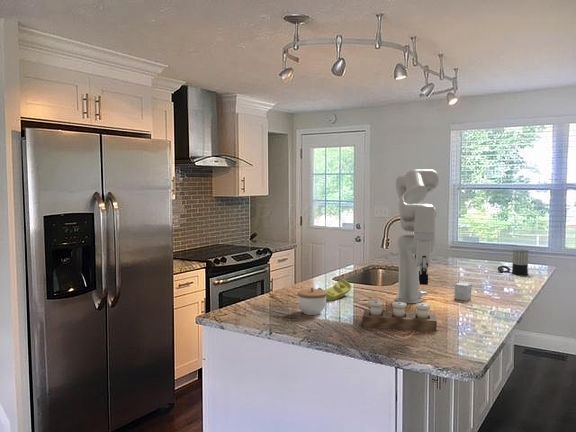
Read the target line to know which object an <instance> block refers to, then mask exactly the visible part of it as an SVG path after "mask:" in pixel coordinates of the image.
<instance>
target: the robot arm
mask: <svg viewBox="0 0 576 432" xmlns="http://www.w3.org/2000/svg"><path fill="white" fill-rule="evenodd" d="M439 183H440V179H439V174H438V172H437V171H436V170H434V169H429V168H428V169H426V168H425V169H420V168H419V169H410V170H409V171H407V172H406V173H405V174H403V175H399V176H397V177H396V179H395V191H396V194H397V196H398V200H399V201H398V213H399V217H400V228H401V230H402V231H403V232H409V233H411V232H412V233H413V234H402V235H401V236H399V237H398V238H397V241H396V245H397V253H398V294H397V296H395V297H394V301H395V302H404V303H406V304H417V303H423V298H422V297H423V296H425V297H426V296H428V292H427V291H421V290H420V285H421V286H428V285H429V271H428V268H429V267H430V266H431V265H430V263H431V255H434V253H435V251H436V218H437V208H436V207H435V206H434V205H433V204H431V203H421V202H422V201H424V200H426V198H427V197H428V194H429V193H433V192H434V191H435V190H436V189H437V188H438V187H439Z"/></svg>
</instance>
